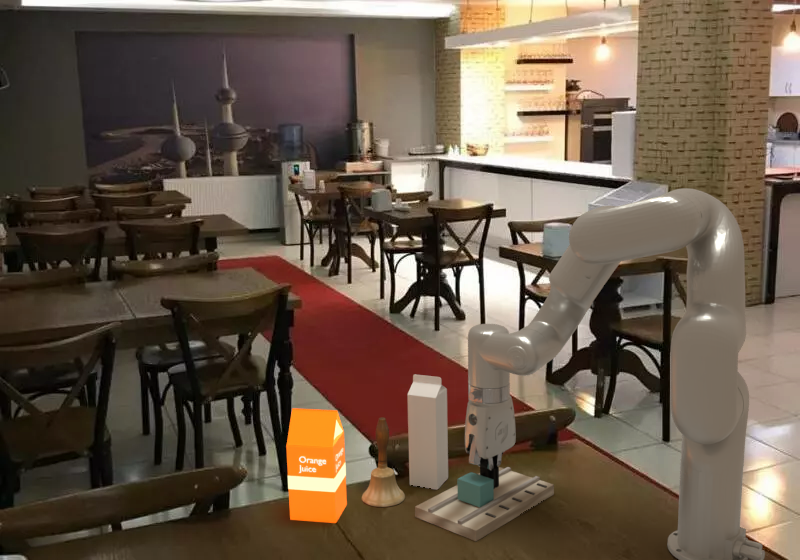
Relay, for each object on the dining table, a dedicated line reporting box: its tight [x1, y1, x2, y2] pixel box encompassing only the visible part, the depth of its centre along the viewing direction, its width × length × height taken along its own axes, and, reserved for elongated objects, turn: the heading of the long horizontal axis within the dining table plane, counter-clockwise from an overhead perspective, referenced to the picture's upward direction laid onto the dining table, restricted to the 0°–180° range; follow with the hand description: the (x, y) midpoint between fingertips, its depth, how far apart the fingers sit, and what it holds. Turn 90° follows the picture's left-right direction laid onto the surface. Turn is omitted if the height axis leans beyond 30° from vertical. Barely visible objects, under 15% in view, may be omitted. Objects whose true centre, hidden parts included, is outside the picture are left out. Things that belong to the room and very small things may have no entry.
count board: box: [414, 466, 555, 542], centre depth 158 cm, size 14×24×3 cm, turn 137°
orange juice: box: [285, 407, 348, 524], centre depth 156 cm, size 8×9×20 cm
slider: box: [456, 471, 494, 507], centre depth 156 cm, size 5×4×4 cm
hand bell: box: [361, 417, 406, 508], centre depth 162 cm, size 8×8×16 cm
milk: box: [407, 373, 449, 491], centre depth 167 cm, size 6×6×22 cm
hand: (489, 486), depth 159 cm, fingers closed
